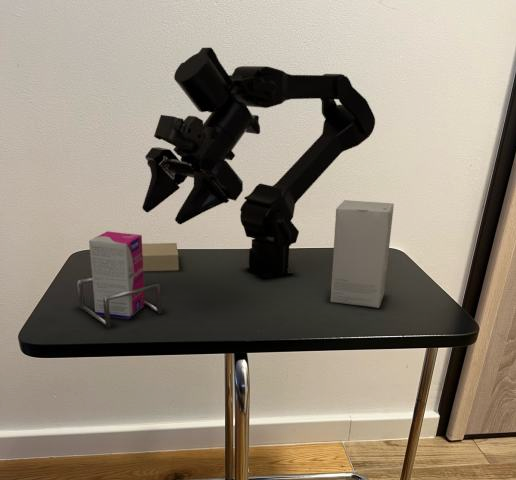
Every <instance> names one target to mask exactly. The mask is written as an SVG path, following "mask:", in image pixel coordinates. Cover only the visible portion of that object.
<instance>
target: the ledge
mask: <svg viewBox="0 0 516 480" xmlns="http://www.w3.org/2000/svg"><path fill="white" fill-rule="evenodd" d="M142 255H143V272H169V271H171V272H172V271H180V266H179V265H180V264H179V252H178V244H177V242H159V243H155V242H154V243H142Z"/></svg>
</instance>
